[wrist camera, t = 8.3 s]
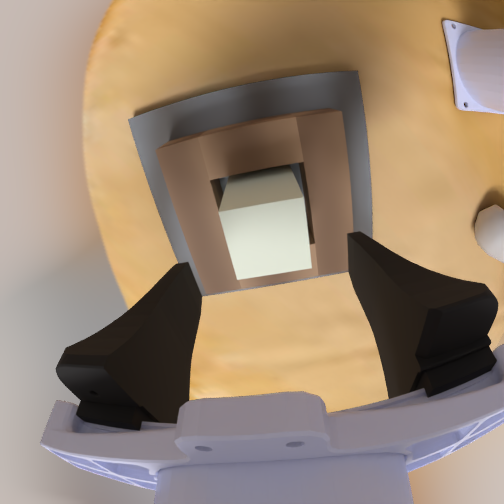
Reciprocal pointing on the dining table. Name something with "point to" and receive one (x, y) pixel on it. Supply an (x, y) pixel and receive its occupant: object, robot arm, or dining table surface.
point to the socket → (260, 157)
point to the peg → (265, 223)
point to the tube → (491, 231)
